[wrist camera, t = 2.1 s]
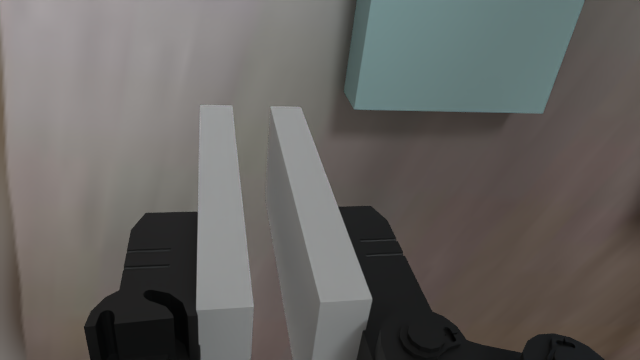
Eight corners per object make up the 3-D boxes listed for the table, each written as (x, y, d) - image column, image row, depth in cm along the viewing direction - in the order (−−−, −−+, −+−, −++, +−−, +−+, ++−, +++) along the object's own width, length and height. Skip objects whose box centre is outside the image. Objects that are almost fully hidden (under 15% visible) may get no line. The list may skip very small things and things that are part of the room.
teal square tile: (368, -97, 26) (385, -91, 23) (574, -74, 28) (609, -66, 26) (342, 88, 31) (354, 109, 29) (517, 93, 34) (542, 113, 31)
